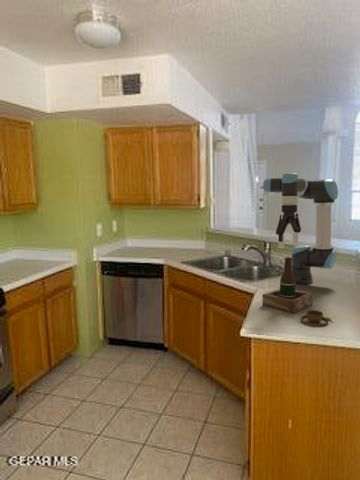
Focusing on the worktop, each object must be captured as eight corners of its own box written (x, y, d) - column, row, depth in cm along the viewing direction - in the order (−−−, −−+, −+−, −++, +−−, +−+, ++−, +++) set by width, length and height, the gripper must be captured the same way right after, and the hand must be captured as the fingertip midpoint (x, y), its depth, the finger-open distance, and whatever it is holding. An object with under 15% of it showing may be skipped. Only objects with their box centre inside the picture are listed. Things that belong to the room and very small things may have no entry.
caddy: (281, 298, 208) (281, 287, 207) (312, 305, 195) (312, 293, 194) (262, 305, 195) (262, 294, 195) (294, 313, 182) (294, 301, 182)
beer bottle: (277, 301, 199) (278, 256, 196) (292, 301, 199) (294, 256, 196) (281, 305, 191) (282, 259, 188) (296, 305, 191) (298, 259, 188)
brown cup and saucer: (299, 328, 164) (300, 315, 164) (284, 313, 184) (284, 301, 183) (338, 326, 166) (339, 313, 165) (319, 312, 185) (319, 300, 185)
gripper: (295, 203, 200) (294, 242, 202) (269, 205, 182) (268, 248, 185) (308, 203, 194) (307, 244, 197) (282, 205, 177) (281, 250, 180)
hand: (288, 246), depth 191 cm, fingers open, 13 cm apart
